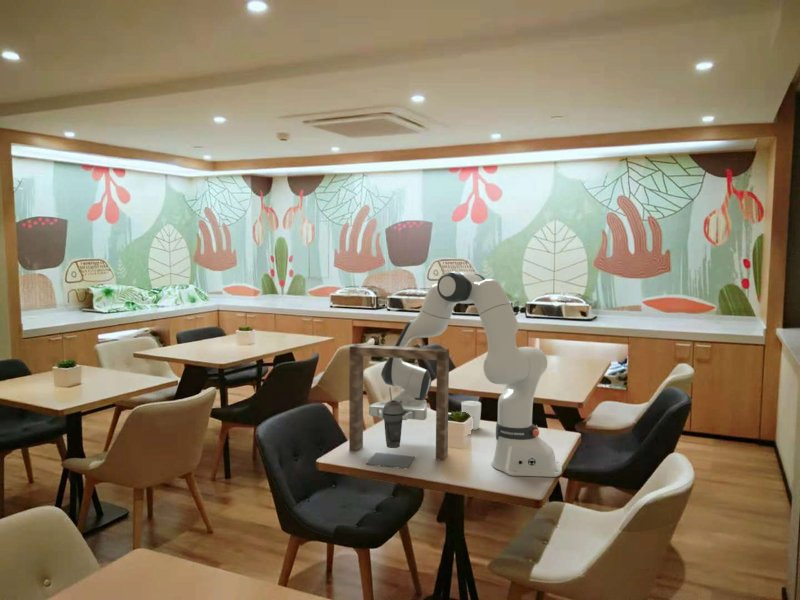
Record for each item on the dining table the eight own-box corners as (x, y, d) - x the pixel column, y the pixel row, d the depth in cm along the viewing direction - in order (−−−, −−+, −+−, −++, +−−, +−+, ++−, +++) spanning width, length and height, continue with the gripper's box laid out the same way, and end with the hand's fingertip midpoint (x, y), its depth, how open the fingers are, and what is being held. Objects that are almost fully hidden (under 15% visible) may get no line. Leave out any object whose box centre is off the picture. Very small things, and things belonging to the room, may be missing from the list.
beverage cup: (401, 450, 198) (401, 390, 196) (380, 448, 199) (380, 389, 198) (405, 443, 205) (406, 385, 204) (385, 442, 207) (385, 384, 205)
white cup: (483, 426, 243) (483, 401, 242) (477, 431, 236) (477, 406, 235) (464, 423, 246) (464, 399, 245) (458, 428, 239) (458, 404, 238)
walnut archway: (447, 454, 208) (449, 348, 205) (444, 460, 202) (445, 351, 199) (355, 445, 217) (355, 344, 214) (349, 450, 211) (349, 346, 208)
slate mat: (415, 457, 204) (415, 456, 204) (407, 468, 194) (407, 467, 193) (376, 454, 208) (376, 452, 208) (366, 464, 197) (366, 463, 197)
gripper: (375, 396, 216) (363, 405, 203) (430, 399, 211) (421, 409, 198) (375, 413, 217) (363, 423, 204) (430, 417, 212) (421, 428, 198)
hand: (392, 416), depth 201 cm, fingers closed on beverage cup, 7 cm apart
